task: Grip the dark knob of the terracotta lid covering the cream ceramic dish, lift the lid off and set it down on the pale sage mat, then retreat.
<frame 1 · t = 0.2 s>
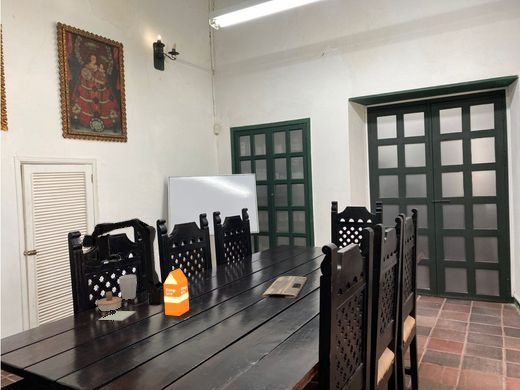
hand: (105, 276, 205), 14 cm above the table, tool pointing down, fingers open, 9 cm apart
newspaper: (284, 289, 217), on the table
cup: (128, 298, 213), on the table
bowl: (109, 308, 195), on the table
orange juice: (177, 312, 185), on the table
lid: (109, 301, 195), point 3 cm above the table, touching bowl
mat: (117, 316, 183), on the table
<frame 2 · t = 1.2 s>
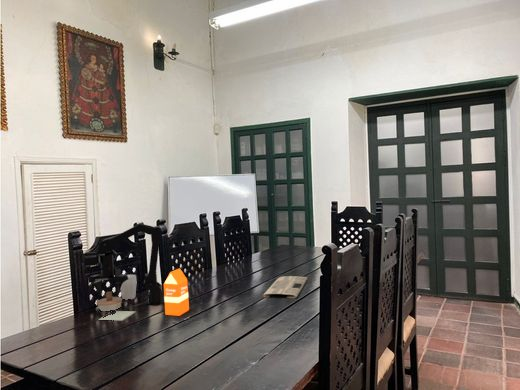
hand: (109, 295, 195), 7 cm above the table, tool pointing down, fingers open, 9 cm apart
nothing on the table moved.
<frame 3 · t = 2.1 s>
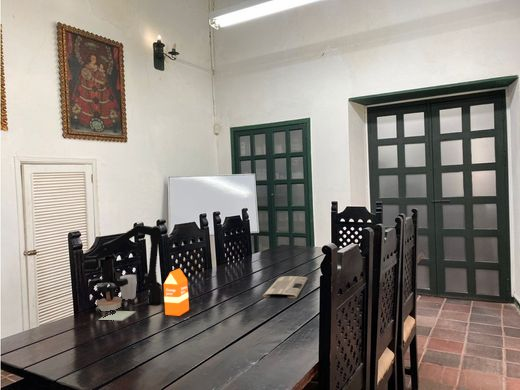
hand: (109, 299, 195), 5 cm above the table, tool pointing down, fingers closed on lid, 3 cm apart
lid: (109, 301, 195), point 3 cm above the table, touching bowl, gripper
everything else where it was.
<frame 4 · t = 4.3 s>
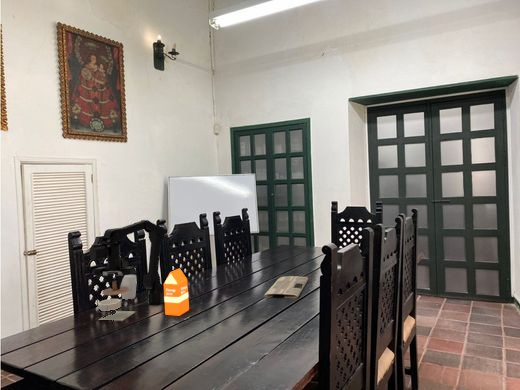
hand: (115, 289, 183), 13 cm above the table, tool pointing down, fingers closed on lid, 3 cm apart
lid: (115, 291, 183), point 12 cm above the table, touching gripper
everything else where it was.
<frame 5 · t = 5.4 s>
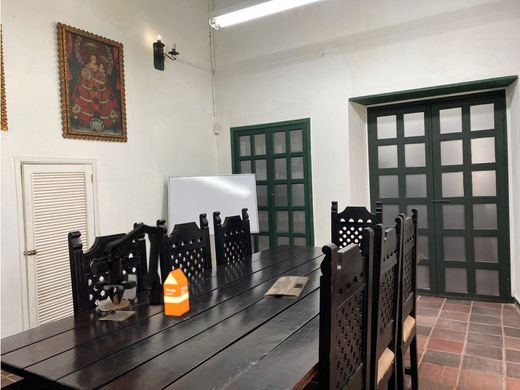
hand: (116, 303, 183), 6 cm above the table, tool pointing down, fingers closed on lid, 3 cm apart
lid: (116, 305, 183), point 5 cm above the table, touching gripper
when the fingers open (2 cm above the table, at t = 6.3 s): lid stays where it is, resting on mat.
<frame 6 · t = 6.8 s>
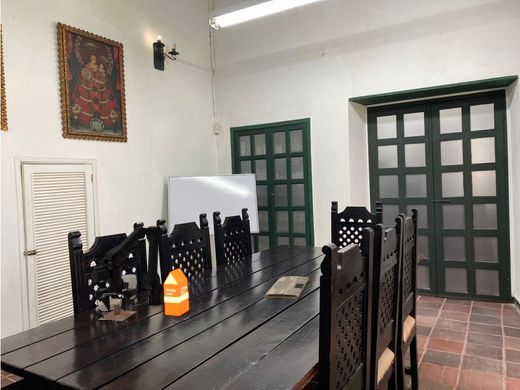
hand: (117, 311, 183), 2 cm above the table, tool pointing down, fingers open, 8 cm apart
lid: (117, 315, 183), resting on mat
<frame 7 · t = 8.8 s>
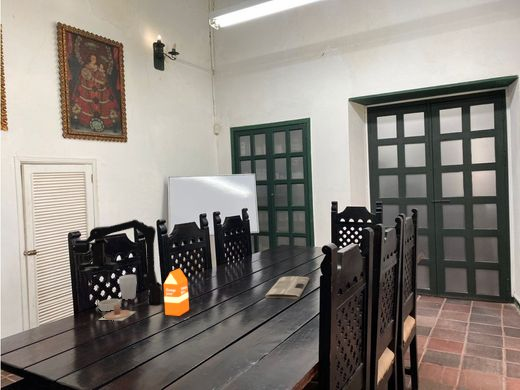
hand: (99, 283, 195), 13 cm above the table, tool pointing down, fingers open, 9 cm apart
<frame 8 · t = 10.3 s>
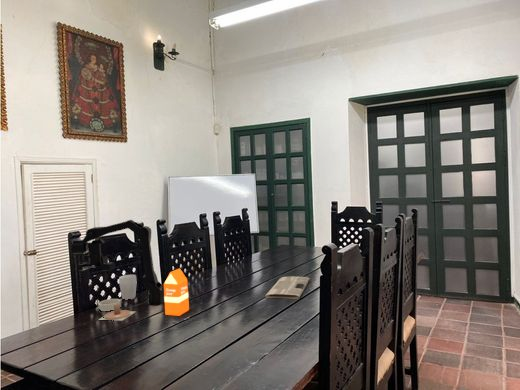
hand: (96, 283, 198), 12 cm above the table, tool pointing down, fingers open, 9 cm apart
at the end: lid inside the target area on the mat (0.0 cm from its centre), point 0.4 cm above the mat's base; lid touching mat; the gripper is holding nothing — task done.
